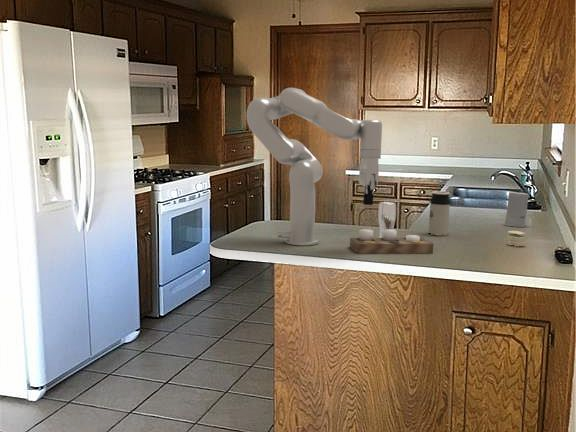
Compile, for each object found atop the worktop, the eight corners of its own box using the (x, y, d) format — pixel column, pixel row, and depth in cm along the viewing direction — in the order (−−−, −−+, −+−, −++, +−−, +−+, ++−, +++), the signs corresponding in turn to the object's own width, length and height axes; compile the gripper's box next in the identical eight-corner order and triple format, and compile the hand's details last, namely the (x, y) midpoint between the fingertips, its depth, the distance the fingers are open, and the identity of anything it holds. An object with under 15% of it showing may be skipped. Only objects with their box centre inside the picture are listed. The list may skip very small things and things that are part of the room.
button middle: (384, 241, 233) (385, 231, 232) (381, 239, 238) (381, 229, 237) (398, 241, 234) (398, 231, 233) (393, 239, 238) (394, 229, 238)
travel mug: (446, 233, 273) (449, 191, 271) (448, 236, 266) (451, 193, 263) (427, 232, 275) (430, 190, 272) (429, 235, 267) (431, 192, 264)
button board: (357, 253, 226) (358, 243, 226) (349, 246, 238) (350, 236, 237) (432, 253, 230) (433, 242, 230) (421, 246, 242) (421, 236, 242)
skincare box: (505, 226, 297) (507, 192, 295) (507, 224, 304) (510, 191, 301) (524, 227, 293) (527, 193, 291) (526, 225, 300) (529, 192, 297)
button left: (361, 241, 232) (361, 231, 231) (357, 239, 236) (358, 229, 236) (374, 241, 232) (374, 231, 232) (370, 239, 237) (371, 229, 237)
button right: (408, 247, 235) (408, 237, 234) (403, 244, 239) (404, 234, 239) (421, 247, 235) (421, 237, 235) (416, 244, 240) (417, 234, 240)
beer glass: (381, 242, 249) (383, 204, 247) (374, 238, 256) (376, 201, 254) (397, 241, 251) (399, 204, 249) (390, 238, 258) (392, 201, 255)
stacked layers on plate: (533, 247, 248) (534, 233, 247) (517, 249, 244) (518, 235, 243) (513, 242, 257) (514, 229, 256) (497, 244, 252) (498, 230, 252)
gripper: (355, 153, 236) (353, 201, 239) (365, 155, 222) (363, 207, 224) (374, 153, 237) (372, 202, 240) (386, 155, 223) (384, 207, 226)
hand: (368, 204), depth 232 cm, fingers closed
